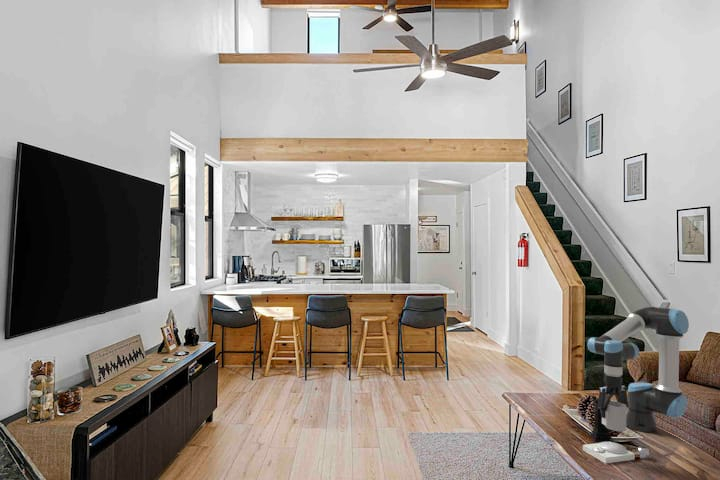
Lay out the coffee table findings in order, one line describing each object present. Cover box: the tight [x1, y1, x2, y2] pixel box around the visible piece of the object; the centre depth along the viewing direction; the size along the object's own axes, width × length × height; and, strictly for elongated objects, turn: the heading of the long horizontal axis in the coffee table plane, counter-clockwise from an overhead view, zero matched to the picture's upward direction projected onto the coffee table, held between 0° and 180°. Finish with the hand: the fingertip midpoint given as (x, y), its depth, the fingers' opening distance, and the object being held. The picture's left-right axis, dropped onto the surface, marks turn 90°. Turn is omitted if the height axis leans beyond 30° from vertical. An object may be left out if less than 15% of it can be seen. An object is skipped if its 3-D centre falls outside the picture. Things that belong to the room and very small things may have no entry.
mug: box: [603, 400, 627, 432], centre depth 220 cm, size 12×8×11 cm
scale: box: [582, 441, 636, 464], centre depth 219 cm, size 16×14×4 cm
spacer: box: [637, 446, 650, 460], centre depth 217 cm, size 4×4×4 cm
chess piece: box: [589, 395, 614, 443], centre depth 237 cm, size 8×8×20 cm
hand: (612, 423), depth 220 cm, fingers closed on mug, 8 cm apart
